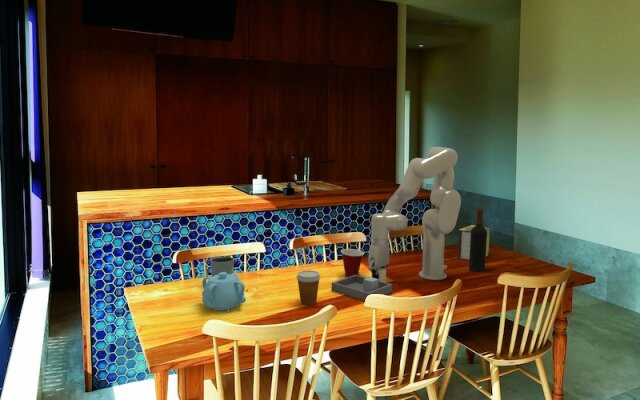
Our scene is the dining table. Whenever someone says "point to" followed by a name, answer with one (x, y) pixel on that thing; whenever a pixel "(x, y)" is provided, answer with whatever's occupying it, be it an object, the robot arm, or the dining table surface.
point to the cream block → (382, 274)
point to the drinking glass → (222, 265)
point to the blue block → (370, 284)
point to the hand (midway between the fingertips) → (378, 280)
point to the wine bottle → (478, 245)
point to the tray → (358, 287)
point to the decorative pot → (223, 292)
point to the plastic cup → (351, 261)
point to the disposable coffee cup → (308, 286)
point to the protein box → (468, 242)
